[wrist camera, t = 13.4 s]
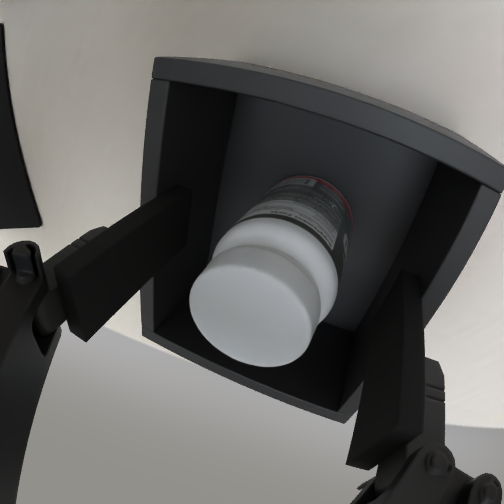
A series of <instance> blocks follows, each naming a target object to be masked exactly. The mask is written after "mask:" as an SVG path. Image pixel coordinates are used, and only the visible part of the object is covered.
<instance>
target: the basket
mask: <svg viewBox="0 0 504 504" xmlns="http://www.w3.org/2000/svg"><path fill="white" fill-rule="evenodd" d="M152 78H154V79H152V80H151V85H150V93H149V101H148V110H147V119H146V129H145V140H144V152H143V166H142V182H141V205H140V207H141V206H143V205H144V204H146V203H147V202H149V201H150V200H152V199H154V198H155V197H157V196H159V195H160V194H162V193H163V192H165V191H167V190H168V189H170V188H172V187H173V186H175V185H177V184H178V185H181V186H184V187H187V188H190V189H193V194H192V202H191V211H190V220H189V229H188V239H187V245H186V246H185V247H184V248H183V249H182V250H181V251H180V252H179V253H178V254H177V255H176V256H175V257H173V258H172V259H171V260H170V261H169V262H168V263H167V264H166V265H165V266H164V267H163V268H162V269H161V270H160V271H159V272H157V273H156V274H155V275H154V276H153V277H152V278H151V279H150V280H149V281H148V282H147V283H146V284H145V285H144V286H143V287H142V288H141V289H140V298H141V321H142V336H144V337H146V338H147V339H149V340H151V341H153V342H155V343H157V344H159V345H160V346H162V347H164V348H166V349H168V350H170V351H172V352H174V353H176V354H178V355H180V356H182V357H184V358H186V359H188V360H190V361H192V362H194V363H196V364H198V365H200V366H202V367H204V368H206V369H208V370H210V371H212V372H215V373H217V374H219V375H221V376H223V377H226V378H228V379H230V380H232V381H234V382H237V383H239V384H241V385H243V386H246V387H248V388H250V389H253V390H255V391H257V392H260V393H262V394H265V395H267V396H270V397H272V398H274V399H278V400H280V401H282V402H285V403H287V404H290V405H292V406H295V407H298V408H301V409H303V410H306V411H309V412H311V413H314V414H317V415H320V416H323V417H326V418H328V419H331V420H334V421H337V422H340V423H343V424H344V423H346V421H348V420H349V418H350V417H351V416H352V415H353V414H354V413H355V412H356V411H357V410H358V408H359V403H360V398H361V393H362V388H363V382H364V376H365V370H366V364H367V358H368V351H369V344H370V337H371V329H372V321H373V318H374V316H375V315H376V313H377V312H378V310H379V308H380V306H381V305H382V303H383V301H384V300H385V298H386V296H387V294H388V293H389V291H390V289H391V287H392V286H393V284H394V282H395V280H396V279H397V277H398V275H399V273H400V271H401V269H405V270H407V271H409V272H412V273H414V274H417V275H419V280H420V289H421V298H422V310H423V324H424V328H425V327H426V325H427V324H428V322H429V321H430V319H431V318H432V317H433V315H434V314H435V312H436V311H437V309H438V308H439V306H440V305H441V303H442V302H443V300H444V299H445V297H446V296H447V294H448V293H449V291H450V289H451V288H452V286H453V285H454V283H455V281H456V280H457V278H458V276H459V275H460V273H461V271H462V270H463V268H464V266H465V265H466V263H467V261H468V259H469V258H470V256H471V254H472V252H473V251H474V249H475V247H476V245H477V243H478V241H479V240H480V238H481V236H482V234H483V232H484V230H485V228H486V226H487V224H488V222H489V220H490V218H491V216H492V214H493V212H494V210H495V208H496V206H497V203H498V201H499V199H500V197H501V194H500V193H502V192H503V190H504V165H503V164H502V163H500V162H499V161H498V160H496V159H495V158H493V157H492V156H491V155H489V154H488V153H486V152H485V151H483V150H482V149H480V148H479V147H478V146H476V145H474V144H473V143H471V142H470V141H468V140H467V139H465V138H464V137H462V136H461V135H459V134H457V133H455V132H453V131H451V130H449V129H447V128H445V127H442V126H440V125H438V124H436V123H434V122H432V121H429V120H427V119H425V118H423V117H420V116H418V115H416V114H413V113H411V112H409V111H406V110H404V109H401V108H399V107H396V106H394V105H391V104H389V103H386V102H383V101H381V100H378V99H375V98H372V97H370V96H367V95H364V94H361V93H358V92H355V91H352V90H349V89H346V88H343V87H340V86H336V85H333V84H330V83H326V82H323V81H320V80H316V79H312V78H309V77H305V76H301V75H297V74H293V73H289V72H285V71H281V70H277V69H272V68H268V67H263V66H258V65H253V64H248V63H243V62H237V61H228V60H217V59H204V58H188V57H155V59H154V65H153V72H152ZM293 176H313V177H317V178H320V179H323V180H325V181H327V182H328V183H330V184H331V185H333V186H334V187H335V188H336V189H337V190H338V191H339V192H340V193H341V194H342V195H343V197H344V198H345V199H346V201H347V203H348V205H349V207H350V210H351V214H352V234H351V238H350V242H349V247H348V251H347V256H346V261H345V264H344V269H343V273H342V277H341V281H340V285H339V289H338V293H337V296H336V299H335V302H334V305H333V307H332V309H331V310H330V312H329V313H328V315H327V316H326V317H325V318H324V319H323V320H322V321H321V322H320V323H319V324H318V325H317V327H316V329H315V332H314V334H313V336H312V339H311V341H310V343H309V346H308V347H307V349H306V351H305V352H304V353H303V354H302V355H301V356H300V357H299V358H297V359H296V360H294V361H293V362H291V363H288V364H285V365H281V366H276V367H261V366H255V365H250V364H246V363H243V362H240V361H238V360H235V359H233V358H231V357H230V356H228V355H226V354H225V353H223V352H221V351H220V350H219V349H217V348H216V347H215V346H213V345H212V344H211V343H210V342H209V341H208V340H207V339H206V338H205V337H204V336H203V334H202V333H201V332H200V330H199V329H198V327H197V325H196V323H195V322H194V319H193V317H192V314H191V311H190V304H189V297H190V291H191V288H192V286H193V284H194V282H195V281H196V279H197V278H198V276H199V275H200V274H201V273H202V272H203V271H204V269H205V268H206V267H207V265H208V264H209V262H210V261H211V260H212V257H213V253H214V250H215V248H216V246H217V244H218V243H219V241H220V240H221V238H222V237H223V236H224V235H225V234H226V233H227V231H228V230H229V229H230V228H231V227H232V226H233V225H234V224H235V223H237V222H238V221H239V220H240V219H241V218H242V217H243V216H244V215H245V214H246V213H247V212H248V211H249V210H250V209H251V208H252V207H253V206H254V205H255V204H256V203H257V202H258V201H259V200H260V199H261V198H263V197H264V196H265V194H266V193H267V192H268V191H269V190H270V189H271V188H272V187H273V186H274V185H276V184H277V183H279V182H280V181H282V180H284V179H286V178H289V177H293Z"/></svg>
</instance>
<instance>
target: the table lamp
mask: <svg viewBox="0 0 504 504" xmlns="http://www.w3.org/2000/svg"><path fill="white" fill-rule="evenodd" d="M40 226H41V221H40V218H39V215H38V213H37V209H36V206H35V203H34V200H33V197H32V194H31V190H30V187H29V183H28V180H27V176H26V173H25V169H24V165H23V161H22V157H21V153H20V149H19V145H18V140H17V136H16V131H15V126H14V121H13V116H12V110H11V105H10V98H9V92H8V85H7V77H6V68H5V58H4V46H3V27H2V23H0V229H10V228H34V227H40Z"/></svg>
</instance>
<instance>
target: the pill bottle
mask: <svg viewBox="0 0 504 504" xmlns="http://www.w3.org/2000/svg"><path fill="white" fill-rule="evenodd" d="M351 234H352V214H351V210H350V207H349V205H348V203H347V201H346V199H345V198H344V197H343V195H342V194H341V193H340V192H339V191H338V190H337V189H336V188H335V187H334V186H333V185H331V184H330V183H328V182H327V181H325V180H323V179H320V178H317V177H313V176H293V177H289V178H286V179H284V180H282V181H280V182H279V183H277V184H276V185H274V186H273V187H272V188H271V189H270V190H269V191H268V192H267V193H266V194H265V196H264V197H263V198H261V199H260V200H259V201H258V202H257V203H256V204H255V205H254V206H253V207H252V208H251V209H250V210H249V211H248V212H247V213H246V214H245V215H244V216H243V217H242V218H241V219H240V220H239V221H238V222H237V223H235V224H234V225H233V226H232V227H231V228H230V229H229V230H228V231H227V233H226V234H225V235H224V236H223V237H222V238H221V240H220V241H219V243H218V244H217V246H216V248H215V250H214V253H213V257H212V260H211V261H210V262H209V264H208V265H207V267H206V268H205V269H204V271H203V272H202V273H201V274H200V275H199V276H198V278H197V279H196V281H195V282H194V284H193V286H192V288H191V291H190V297H189V304H190V311H191V314H192V317H193V319H194V322H195V323H196V325H197V327H198V329H199V330H200V332H201V333H202V334H203V336H204V337H205V338H206V339H207V340H208V341H209V342H210V343H211V344H212V345H213V346H215V347H216V348H217V349H219V350H220V351H221V352H223V353H225V354H226V355H228V356H230V357H231V358H233V359H235V360H238V361H240V362H243V363H246V364H250V365H255V366H261V367H276V366H281V365H285V364H288V363H291V362H293V361H294V360H296V359H297V358H299V357H300V356H301V355H302V354H303V353H304V352H305V351H306V349H307V347H308V346H309V343H310V341H311V339H312V336H313V334H314V332H315V329H316V327H317V325H318V324H319V323H320V322H321V321H322V320H323V319H324V318H325V317H326V316H327V315H328V313H329V312H330V310H331V309H332V307H333V305H334V302H335V299H336V296H337V293H338V289H339V285H340V281H341V277H342V273H343V269H344V264H345V261H346V256H347V251H348V247H349V242H350V238H351Z"/></svg>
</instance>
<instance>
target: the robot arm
mask: <svg viewBox="0 0 504 504" xmlns="http://www.w3.org/2000/svg"><path fill="white" fill-rule="evenodd" d="M192 194H193V189H190V188H187V187H184V186H181V185H178V184H177V185H175V186H173V187H172V188H170V189H168V190H167V191H165V192H163V193H162V194H160V195H159V196H157V197H155V198H154V199H152V200H150V201H149V202H147V203H146V204H144V205H143V206H141V207H139V208H138V209H136V210H135V211H133V212H132V213H130V214H128V215H127V216H125V217H124V218H122V219H121V220H119V221H118V222H116V223H115V224H113V225H112V226H110V227H109V228H107V227H104V226H102V227H99V228H96V229H93V230H90V231H89V232H87V233H86V234H84V235H83V236H81V237H80V238H79V239H77V240H75V241H74V242H72V243H71V245H68V246H66V247H65V248H64V249H62V250H61V251H59V252H58V253H56V254H55V255H54V256H52V257H51V258H49V259H48V260H47V261H45V262H44V263H43V262H42V258H41V253H40V249H39V246H38V245H37V244H36V243H35V242H32V241H20V242H16V243H14V244H12V245H10V246H8V247H7V248H6V249H5V250H4V251H3V252H4V255H5V259H6V262H7V266H8V268H7V267H4V266H0V504H16V498H17V491H18V486H19V480H20V475H21V470H22V465H23V460H24V455H25V451H26V447H27V442H28V438H29V434H30V430H31V426H32V423H33V419H34V415H35V412H36V408H37V404H38V401H39V398H40V395H41V391H42V388H43V385H44V382H45V379H46V376H47V373H48V370H49V367H50V364H51V361H52V358H53V356H54V353H55V350H56V347H57V345H58V342H59V339H60V337H61V331H62V330H61V327H60V325H61V324H62V323H63V322H64V321H65V320H67V322H68V326H69V329H70V331H71V332H72V333H73V334H75V335H76V336H77V337H79V338H80V339H82V340H83V341H85V342H87V341H88V340H89V339H90V338H91V337H92V336H93V335H94V334H95V333H96V332H97V331H98V330H99V329H100V328H101V327H102V326H103V325H104V324H105V323H106V322H107V321H108V320H109V319H110V318H111V317H112V316H113V315H114V314H115V313H116V312H117V311H118V310H119V309H120V308H121V307H122V306H123V305H124V304H125V303H126V302H127V301H128V300H129V299H130V298H131V297H132V296H133V295H134V294H136V293H137V292H138V291H139V290H140V289H141V288H142V287H143V286H144V285H145V284H146V283H147V282H148V281H149V280H150V279H151V278H152V277H153V276H154V275H155V274H156V273H157V272H159V271H160V270H161V269H162V268H163V267H164V266H165V265H166V264H167V263H168V262H169V261H170V260H171V259H172V258H173V257H175V256H176V255H177V254H178V253H179V252H180V251H181V250H182V249H183V248H184V247H185V246H186V245H187V239H188V229H189V220H190V211H191V202H192ZM444 389H445V385H444V374H443V372H442V369H441V367H440V364H439V362H438V361H435V360H432V359H429V358H426V357H425V344H424V324H423V310H422V298H421V289H420V280H419V275H417V274H414V273H412V272H409V271H407V270H405V269H401V271H400V273H399V275H398V277H397V279H396V280H395V282H394V284H393V286H392V287H391V289H390V291H389V293H388V294H387V296H386V298H385V300H384V301H383V303H382V305H381V306H380V308H379V310H378V312H377V313H376V315H375V316H374V318H373V321H372V329H371V337H370V344H369V351H368V358H367V364H366V370H365V376H364V382H363V388H362V393H361V398H360V403H359V408H358V414H357V419H356V423H355V427H354V432H353V437H352V441H351V445H350V449H349V453H348V457H347V461H346V465H349V466H353V467H356V468H360V469H364V470H370V469H372V468H373V467H375V466H376V465H378V469H377V473H376V476H375V477H373V478H372V479H370V480H368V481H366V482H365V483H363V484H361V485H360V486H359V487H358V488H357V489H358V490H360V489H362V488H363V489H362V491H361V492H360V493H359V495H357V497H356V498H355V499H354V500H353V501H352V502H351V503H350V504H501V500H502V488H501V484H500V482H499V481H498V479H497V478H496V477H495V476H494V475H492V474H488V473H485V474H482V475H480V476H478V477H476V478H472V477H471V476H469V475H467V474H465V473H464V472H462V471H460V470H459V469H457V468H456V467H455V459H454V457H453V455H452V453H451V451H450V450H449V449H448V448H447V447H446V446H445V403H444V401H445V392H444Z"/></svg>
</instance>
